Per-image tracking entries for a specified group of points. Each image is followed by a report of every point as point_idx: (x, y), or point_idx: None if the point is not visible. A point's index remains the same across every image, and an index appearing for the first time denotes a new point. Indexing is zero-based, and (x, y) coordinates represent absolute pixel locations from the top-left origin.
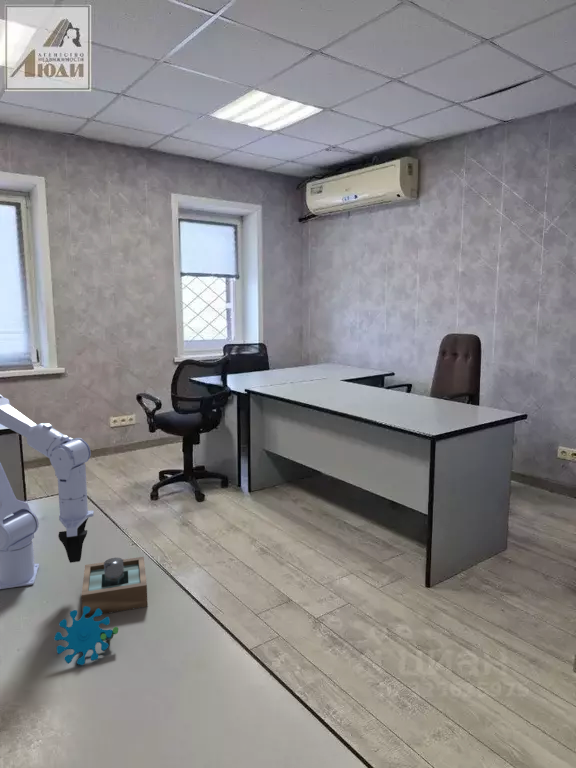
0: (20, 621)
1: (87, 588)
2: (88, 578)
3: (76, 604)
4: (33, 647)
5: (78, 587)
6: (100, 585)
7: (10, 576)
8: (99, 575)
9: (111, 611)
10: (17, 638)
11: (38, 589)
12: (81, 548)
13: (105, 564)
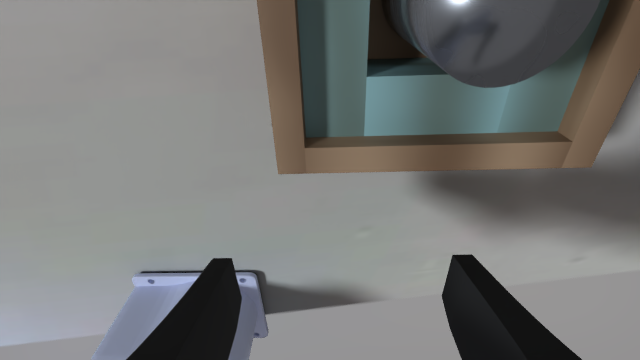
0: (442, 272)
1: (542, 146)
2: (436, 148)
3: None
4: (595, 233)
5: None
6: None
7: (252, 339)
8: (373, 89)
9: None
10: (522, 267)
11: (283, 256)
12: (562, 344)
13: (515, 75)
